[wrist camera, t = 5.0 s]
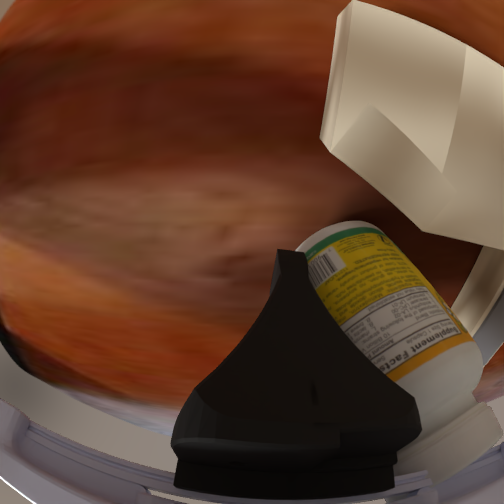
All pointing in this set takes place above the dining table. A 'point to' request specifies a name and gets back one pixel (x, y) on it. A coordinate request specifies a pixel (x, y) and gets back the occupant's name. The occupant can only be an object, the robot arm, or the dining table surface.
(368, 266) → the supplement bottle
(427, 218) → the jig block
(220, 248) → the dining table surface
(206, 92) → the dining table surface
